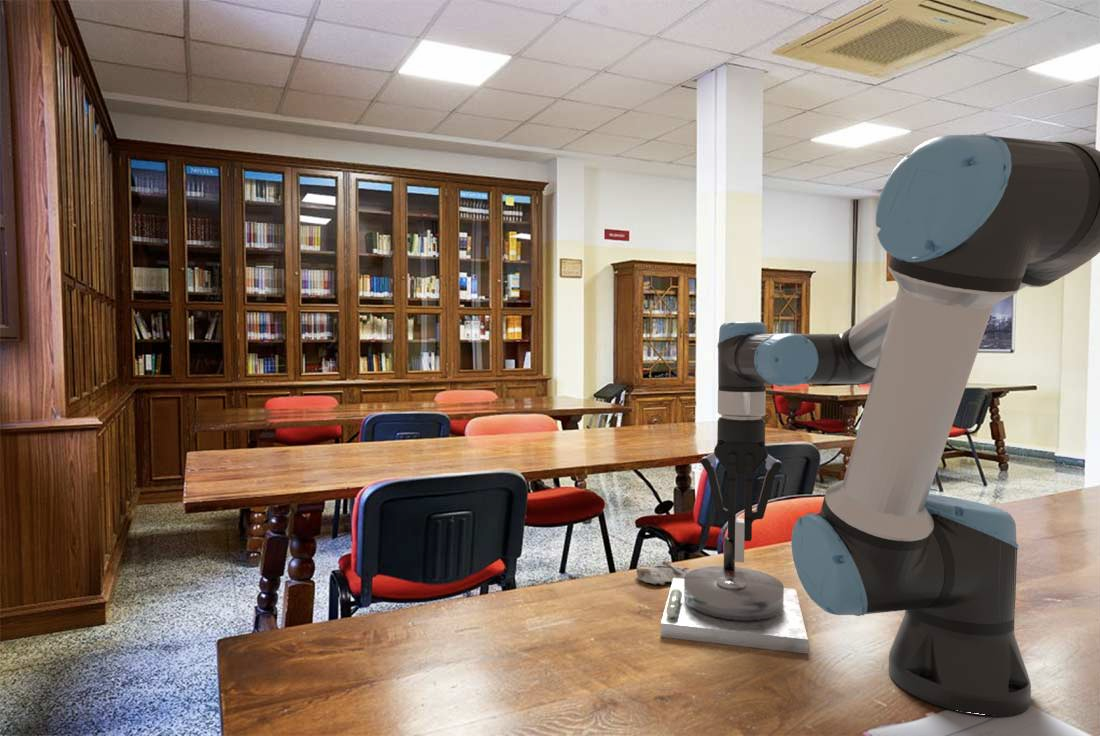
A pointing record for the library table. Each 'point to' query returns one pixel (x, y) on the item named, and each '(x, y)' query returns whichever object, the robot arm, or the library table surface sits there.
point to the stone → (661, 573)
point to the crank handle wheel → (733, 590)
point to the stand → (735, 625)
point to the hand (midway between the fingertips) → (739, 559)
